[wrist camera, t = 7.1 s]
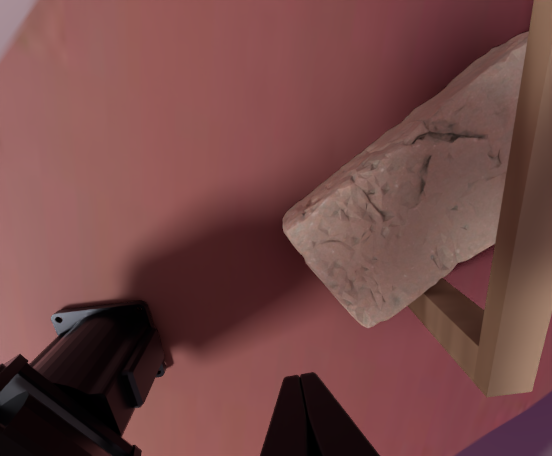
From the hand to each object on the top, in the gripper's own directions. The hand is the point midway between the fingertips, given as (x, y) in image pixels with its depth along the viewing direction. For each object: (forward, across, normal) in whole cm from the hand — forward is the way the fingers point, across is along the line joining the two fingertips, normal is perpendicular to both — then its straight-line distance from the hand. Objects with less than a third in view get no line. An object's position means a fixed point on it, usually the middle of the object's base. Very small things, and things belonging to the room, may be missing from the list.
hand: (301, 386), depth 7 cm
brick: (+12, -10, -2) cm, 16 cm away
